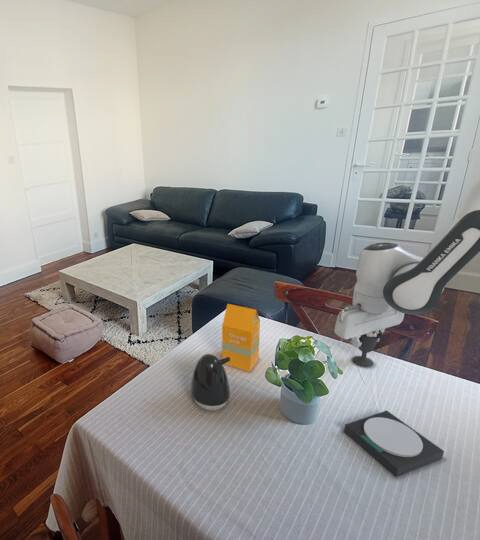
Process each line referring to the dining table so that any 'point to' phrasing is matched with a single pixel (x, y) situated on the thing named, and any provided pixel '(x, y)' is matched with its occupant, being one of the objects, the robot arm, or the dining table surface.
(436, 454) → the scale
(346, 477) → the dining table surface
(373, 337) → the sundae
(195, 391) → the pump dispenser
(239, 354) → the orange juice
